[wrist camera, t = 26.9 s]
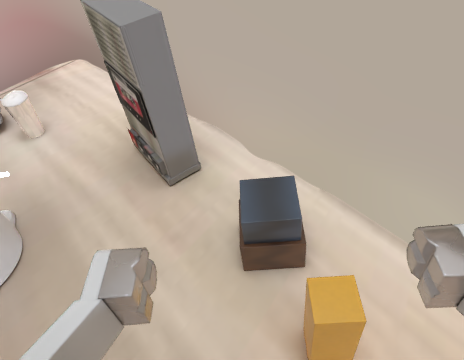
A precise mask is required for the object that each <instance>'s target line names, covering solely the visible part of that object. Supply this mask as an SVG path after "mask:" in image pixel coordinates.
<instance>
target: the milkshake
mask: <svg viewBox="0 0 464 360" xmlns="http://www.w3.org/2000/svg"><path fill="white" fill-rule="evenodd" d="M0 100H1V101H2V105H3V106H4V107H5V109H6V110H7V111H8V112H9V113H10V115H11V116H12V117H13V118H14V119H15V121H16V122H17V123H18V125H19V126H20V127H21V128H22V130H23V131H24V132H25V133H26V135H27V136H28V137H29V138H32V139H33V138H38V137H40V136H42V135H43V134H44V132H45V130H44V127H43V125H42V123H41V121H40V119H39V118H38V116H37V114H36V112H35V110H34V108H33V106H32V103H31V101H30V99H29V97H28V95H27V93H25V92H24V91H20V90H13V91H12V92H10V93H8V94H6V95H5V97H4V98H3V99H1V98H0Z"/></svg>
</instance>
